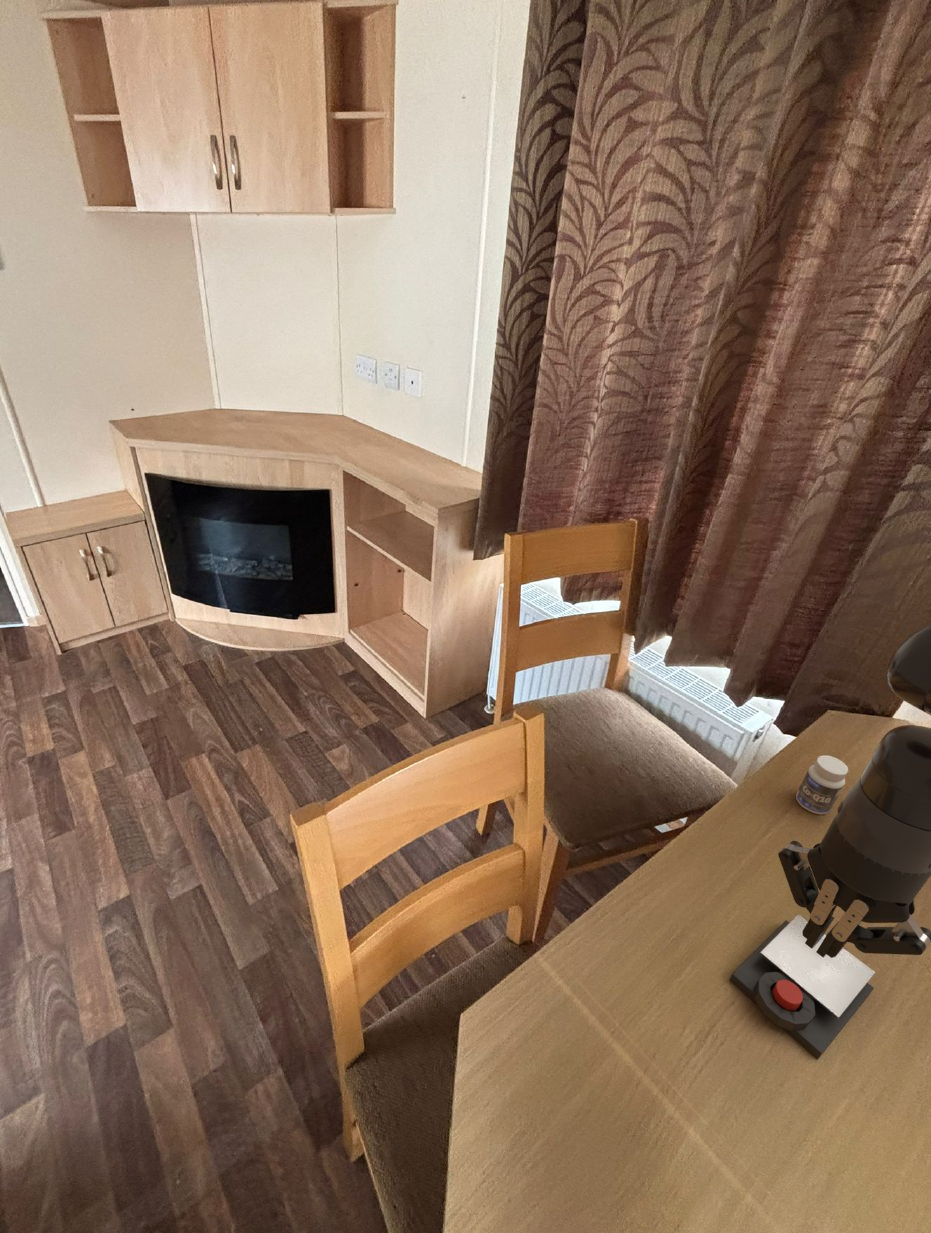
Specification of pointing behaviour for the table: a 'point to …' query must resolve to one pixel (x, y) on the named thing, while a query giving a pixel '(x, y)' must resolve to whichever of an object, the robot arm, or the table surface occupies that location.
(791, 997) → the tare button
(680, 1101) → the table surface
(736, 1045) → the table surface
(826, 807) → the pill bottle
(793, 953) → the pan
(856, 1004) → the scale
